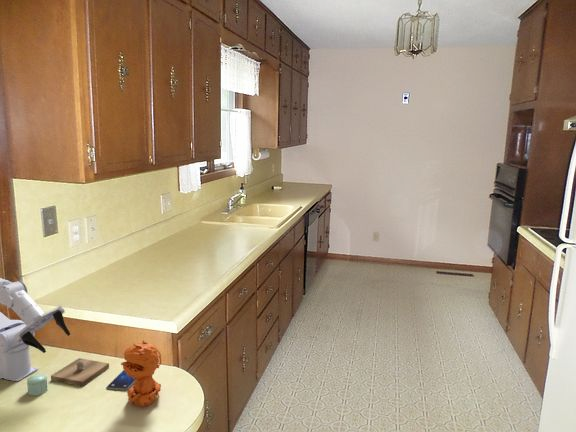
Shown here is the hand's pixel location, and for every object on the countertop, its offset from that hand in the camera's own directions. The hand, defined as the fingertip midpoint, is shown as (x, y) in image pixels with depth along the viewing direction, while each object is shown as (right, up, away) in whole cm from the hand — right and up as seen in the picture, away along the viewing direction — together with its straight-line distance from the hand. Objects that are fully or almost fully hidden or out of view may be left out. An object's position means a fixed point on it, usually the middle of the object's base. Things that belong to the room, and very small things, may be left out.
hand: (56, 342), depth 131 cm
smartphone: (+18, -14, +9) cm, 25 cm away
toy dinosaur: (+27, -16, -3) cm, 31 cm away
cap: (-6, -15, +1) cm, 16 cm away
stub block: (+2, -13, +11) cm, 18 cm away
